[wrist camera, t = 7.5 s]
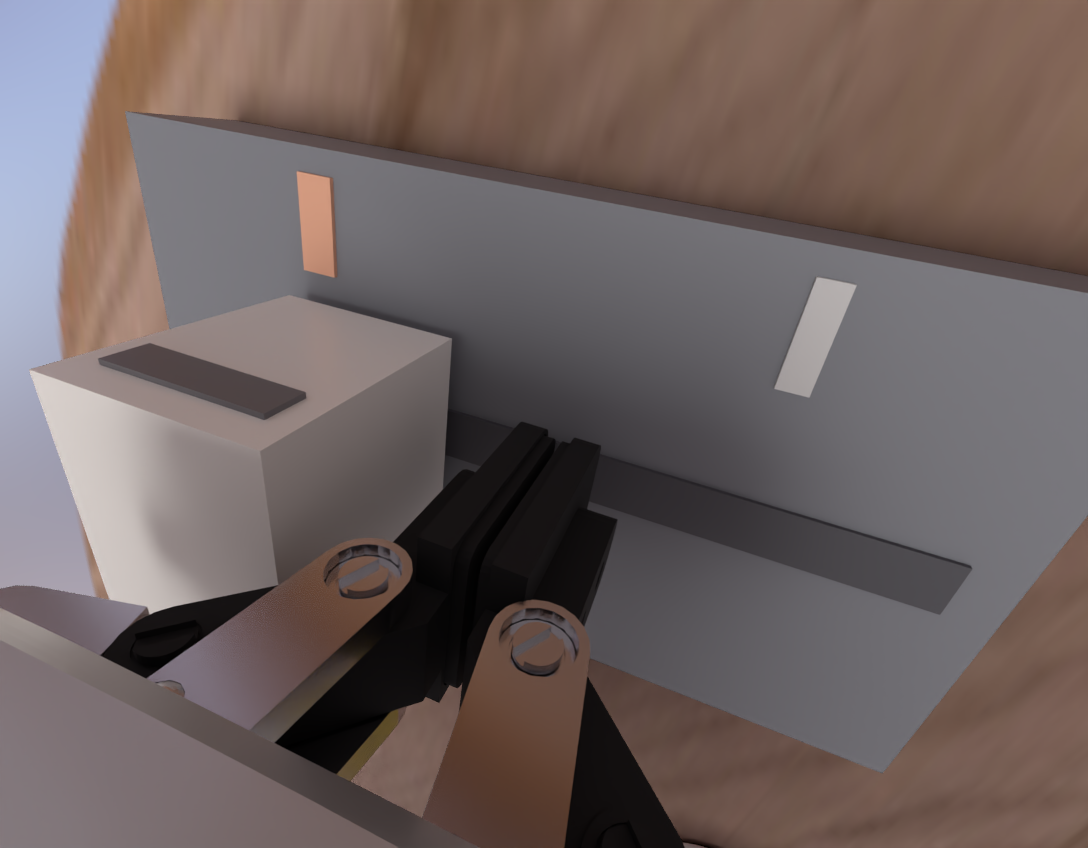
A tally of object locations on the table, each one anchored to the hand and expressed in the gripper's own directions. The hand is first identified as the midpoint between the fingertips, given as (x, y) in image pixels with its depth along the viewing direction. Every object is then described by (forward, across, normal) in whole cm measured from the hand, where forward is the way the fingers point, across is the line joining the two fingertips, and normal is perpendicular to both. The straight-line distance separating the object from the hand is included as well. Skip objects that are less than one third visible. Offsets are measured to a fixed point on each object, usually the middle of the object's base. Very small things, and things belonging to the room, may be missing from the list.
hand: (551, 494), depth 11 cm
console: (+4, +1, 0) cm, 4 cm away
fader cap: (+1, +5, 0) cm, 5 cm away
